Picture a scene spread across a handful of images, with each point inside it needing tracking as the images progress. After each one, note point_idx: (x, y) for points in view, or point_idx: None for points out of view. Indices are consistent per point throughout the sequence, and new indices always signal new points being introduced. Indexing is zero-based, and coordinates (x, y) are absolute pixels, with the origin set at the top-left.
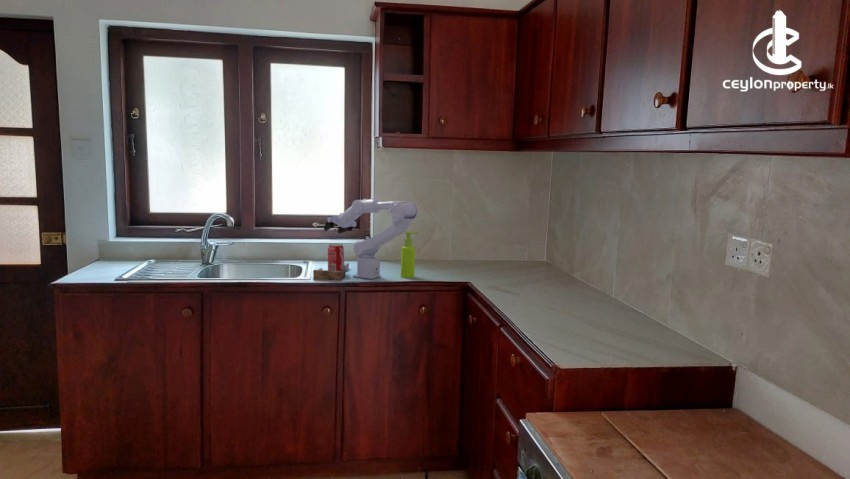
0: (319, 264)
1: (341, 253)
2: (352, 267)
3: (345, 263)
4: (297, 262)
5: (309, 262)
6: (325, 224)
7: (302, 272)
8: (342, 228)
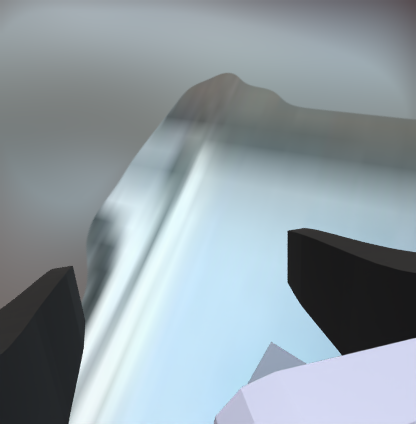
0: (217, 225)
1: None
2: None
3: None
4: (144, 167)
5: (190, 175)
6: (20, 297)
7: None
8: (346, 310)
